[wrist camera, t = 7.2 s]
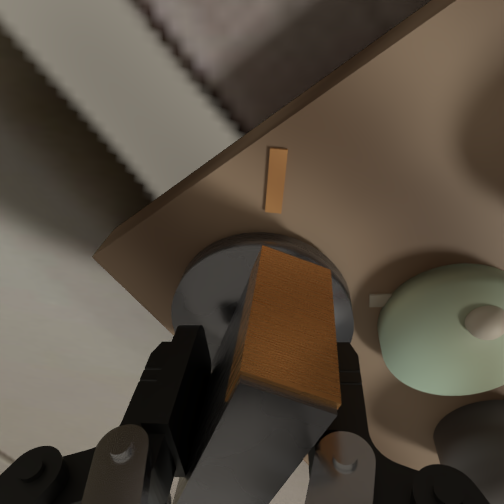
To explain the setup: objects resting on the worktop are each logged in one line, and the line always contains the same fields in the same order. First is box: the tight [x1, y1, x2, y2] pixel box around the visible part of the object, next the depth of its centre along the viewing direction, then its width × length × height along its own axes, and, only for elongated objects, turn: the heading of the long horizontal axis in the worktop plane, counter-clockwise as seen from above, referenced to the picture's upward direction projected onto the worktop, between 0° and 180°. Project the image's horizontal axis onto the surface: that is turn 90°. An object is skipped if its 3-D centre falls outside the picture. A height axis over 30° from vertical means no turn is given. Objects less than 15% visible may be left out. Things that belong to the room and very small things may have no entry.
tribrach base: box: [92, 0, 504, 504], centre depth 14 cm, size 18×18×5 cm
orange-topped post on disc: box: [171, 232, 354, 504], centre depth 12 cm, size 6×6×6 cm
